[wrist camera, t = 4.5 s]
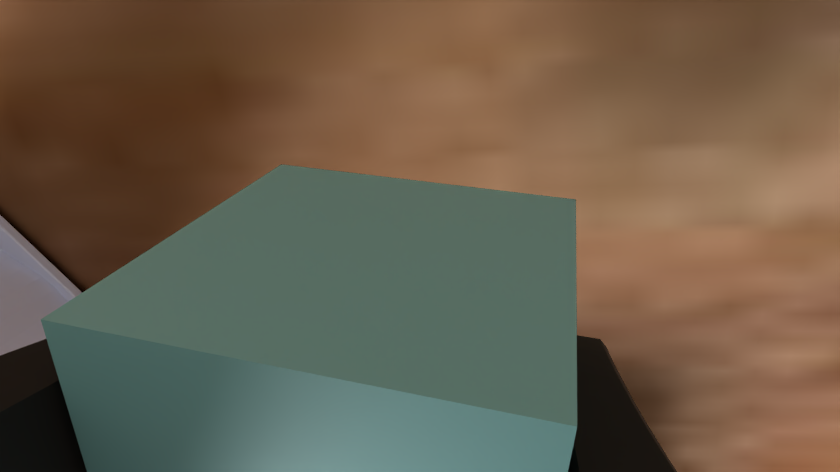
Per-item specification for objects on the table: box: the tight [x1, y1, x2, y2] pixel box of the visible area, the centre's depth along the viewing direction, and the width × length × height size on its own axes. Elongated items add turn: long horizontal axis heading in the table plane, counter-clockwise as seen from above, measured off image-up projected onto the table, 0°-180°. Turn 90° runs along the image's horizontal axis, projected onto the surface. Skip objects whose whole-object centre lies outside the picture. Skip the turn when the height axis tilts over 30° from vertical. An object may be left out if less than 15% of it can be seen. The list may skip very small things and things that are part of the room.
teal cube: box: [41, 164, 577, 472], centre depth 8 cm, size 5×5×5 cm
